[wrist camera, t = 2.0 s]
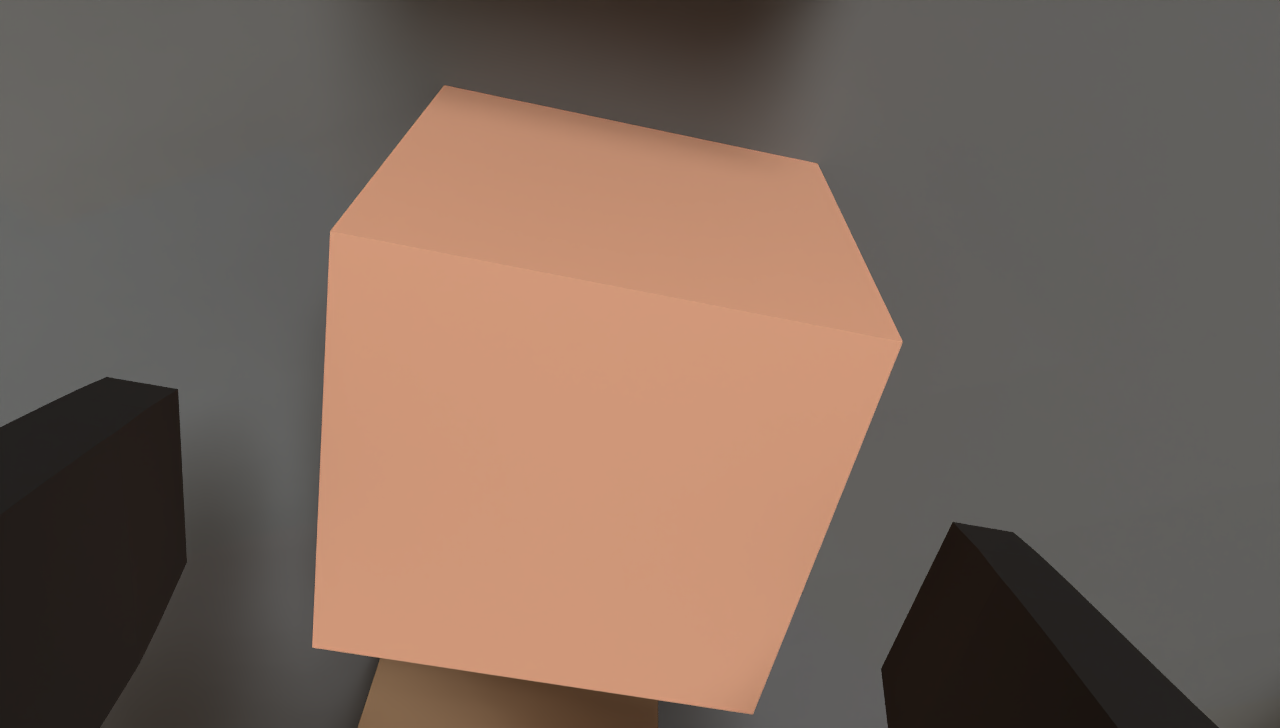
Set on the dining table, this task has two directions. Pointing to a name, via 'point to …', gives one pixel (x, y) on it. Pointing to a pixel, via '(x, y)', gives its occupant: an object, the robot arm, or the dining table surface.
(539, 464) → the terracotta block
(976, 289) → the dining table surface
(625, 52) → the dining table surface
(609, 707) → the walnut block
